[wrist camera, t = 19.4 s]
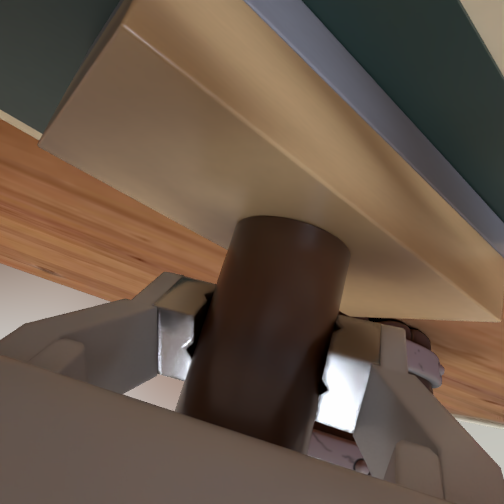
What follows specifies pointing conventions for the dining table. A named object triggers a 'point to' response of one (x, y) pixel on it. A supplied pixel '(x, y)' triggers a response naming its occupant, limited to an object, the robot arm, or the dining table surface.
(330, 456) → the flowerpot
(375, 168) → the eraser
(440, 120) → the chalkboard
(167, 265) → the dining table surface
